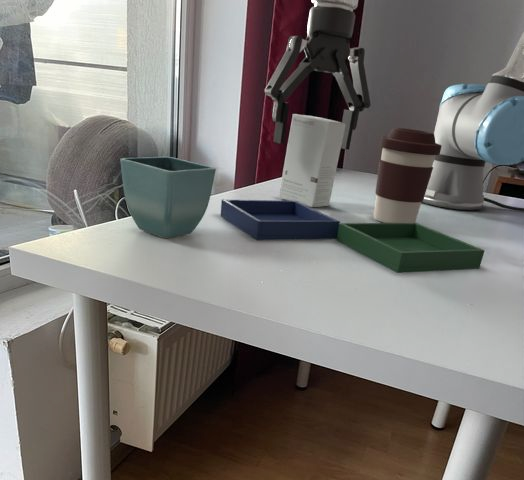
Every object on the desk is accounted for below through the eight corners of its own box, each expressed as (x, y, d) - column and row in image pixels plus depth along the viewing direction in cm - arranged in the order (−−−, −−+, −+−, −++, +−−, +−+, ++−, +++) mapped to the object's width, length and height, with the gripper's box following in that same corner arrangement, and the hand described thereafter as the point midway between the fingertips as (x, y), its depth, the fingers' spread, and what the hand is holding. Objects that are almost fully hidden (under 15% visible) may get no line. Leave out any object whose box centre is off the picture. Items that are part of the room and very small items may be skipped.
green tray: (412, 239, 86) (416, 222, 85) (479, 268, 75) (485, 250, 74) (336, 240, 80) (339, 222, 79) (397, 272, 69) (402, 252, 68)
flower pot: (212, 235, 75) (218, 167, 71) (168, 246, 68) (171, 171, 64) (165, 221, 79) (167, 155, 75) (118, 229, 72) (118, 158, 68)
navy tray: (294, 216, 92) (296, 200, 90) (337, 239, 81) (340, 221, 80) (220, 216, 86) (221, 199, 85) (256, 240, 75) (258, 221, 74)
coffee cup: (417, 219, 101) (438, 132, 95) (426, 231, 93) (450, 136, 86) (363, 211, 102) (380, 124, 95) (367, 223, 93) (386, 128, 86)
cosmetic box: (278, 198, 104) (288, 113, 97) (296, 196, 108) (308, 114, 102) (314, 208, 99) (328, 119, 93) (332, 205, 104) (346, 120, 97)
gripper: (380, 22, 99) (356, 147, 108) (254, -5, 88) (240, 137, 97) (407, 21, 93) (380, 153, 102) (276, -8, 82) (258, 143, 91)
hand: (311, 145), depth 99 cm, fingers open, 13 cm apart
